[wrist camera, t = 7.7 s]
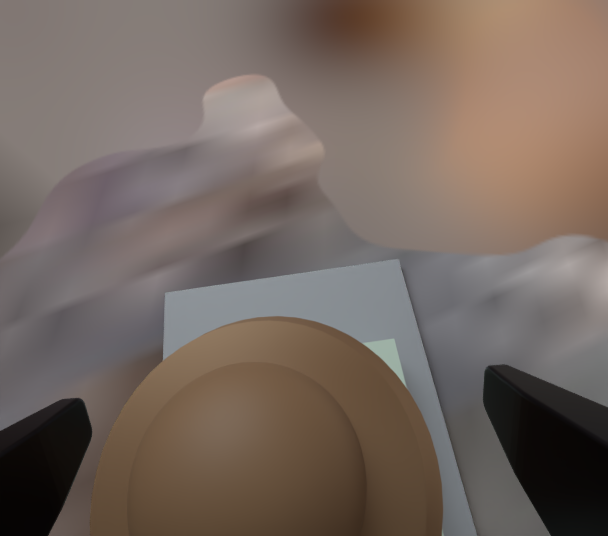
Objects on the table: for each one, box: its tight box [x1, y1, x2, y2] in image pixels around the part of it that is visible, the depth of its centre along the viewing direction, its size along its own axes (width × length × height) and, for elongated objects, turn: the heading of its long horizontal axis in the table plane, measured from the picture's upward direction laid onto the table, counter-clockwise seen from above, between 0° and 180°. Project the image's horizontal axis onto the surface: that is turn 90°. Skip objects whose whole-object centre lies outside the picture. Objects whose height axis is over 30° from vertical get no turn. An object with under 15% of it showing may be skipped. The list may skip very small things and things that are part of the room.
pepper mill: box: [90, 316, 443, 536], centre depth 10 cm, size 5×5×14 cm
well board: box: [163, 259, 477, 536], centre depth 15 cm, size 18×12×3 cm, turn 8°
